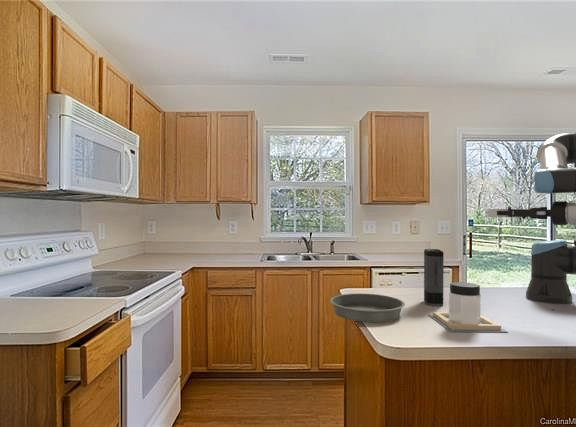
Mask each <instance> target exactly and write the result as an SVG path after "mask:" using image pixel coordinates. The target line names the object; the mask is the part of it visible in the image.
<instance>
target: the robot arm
mask: <svg viewBox="0 0 576 427" xmlns="http://www.w3.org/2000/svg"><path fill="white" fill-rule="evenodd" d="M536 159H537V162H538V163H539V164H540V169H538V170H535V171H534V175H533V176H534V180H533V181H534V182H533V183H534V192H535V193H537V194H548V195H550V194H569V193H570V194H572V193H576V132H569V133H568V132H567V133H566V132H565V133H560V134H557V135H554V136H552V137H550V138H548V139H546V140H545V141H543V142H542V143H541V144H540V146H539V147H538V148H537V151H536ZM570 164H571V165H572V164H573V167H569V166H568V165H570ZM486 217H487V218H521V219H523V220H524V219H525V220H526V219H527V218H530V219H539V220H548V217H549V218H551V223H552V224H553V225H555V226H567V225H569V226H576V200H569V202H568V201H566V200H560V201H559V200H556V201H555V200H554V201H553V202H552V204H551V209H548V206H539V207H530V208H529V209H527V208H524V209H521V208H516V209H515V208H514V209H513V208H512V207H511V206H508V207H507V208H487V209H486ZM530 255H531V259H530V261H531V262H530V263H531V265H530V266H531V269H530V275H531V276H530V279H529V280H530V281H529V284H528V285H527V288H526V291H525V297H526V298H527V299H528V300H533V301H536V302H543V303H548V304H549V303H550V304H571V303H573V295H572V292H571V290H570V287H569V284H568V280H567V279H568V276H567V275H576V237H575V238H574V239H573V243H568V241H567V240H564V239H559V240H558V239H557V240H545V241H543V240H541V241H536V242H533V244H532V245H531V251H530Z"/></svg>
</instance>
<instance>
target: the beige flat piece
mask: <svg viewBox="0 0 576 427" xmlns="http://www.w3.org/2000/svg"><path fill="white" fill-rule="evenodd" d="M428 316H429V317H430V318H431V319H432V320H434V321H435V322H436V323H438V324H439V325H440V326H442V327H443V328H444V329H446V330H449V331H448V332H450V333H496V334H497V333H498V334H499V333H505V334H506V333H509V332H508V331H507V330H506V329H504V328H502V325H500V324H499V323H497V322H495V321H493V320H492V319H489V318H487V317H485V316H484V315H482V314H480V324H455V323H453V322H452V321H450V320H449V311H448V312H447V311H444V312H443V311H433V314H428Z"/></svg>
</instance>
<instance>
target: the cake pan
mask: <svg viewBox="0 0 576 427" xmlns="http://www.w3.org/2000/svg"><path fill="white" fill-rule="evenodd" d="M329 301H330V303H331V304H332V306H333V310H334V313H335V315H336V316H337V317H340V318H341V319H346V320H348V321H354V322H355V321H356V322H363V323H384V322H385V321H386V322H391V320H392V321H395V320H397V319H399V318H400V315H401V312H402V308H405V305H406V303H405V301H403V300H401V299H399V298H397V297H393V296H390V295H389V296H388V295H383V294H377V293H376V294H375V293H345V294H339V295H335V296H333V297H331V298H330V300H329Z"/></svg>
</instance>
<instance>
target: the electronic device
mask: <svg viewBox="0 0 576 427" xmlns="http://www.w3.org/2000/svg"><path fill="white" fill-rule="evenodd" d="M423 252H424V253H423V269H424V270H423V272H424V273H423V300H424V302H425V304H426V305H427V306H431V305H432V307H433V306H436V307H441V306H443V305H444V269H445V268H444V262H445V260H444V253H445V252H444V251H443V250H441V249H437V248H425V249H424V251H423Z"/></svg>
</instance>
